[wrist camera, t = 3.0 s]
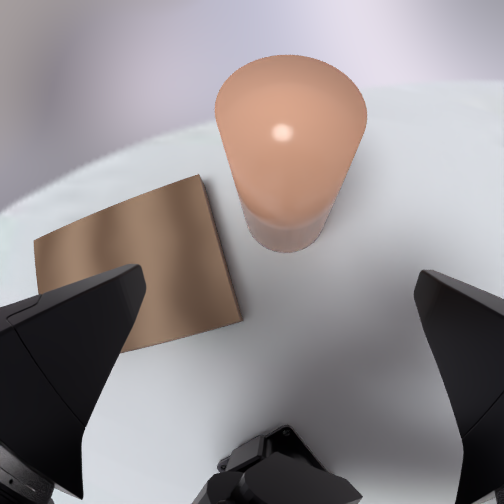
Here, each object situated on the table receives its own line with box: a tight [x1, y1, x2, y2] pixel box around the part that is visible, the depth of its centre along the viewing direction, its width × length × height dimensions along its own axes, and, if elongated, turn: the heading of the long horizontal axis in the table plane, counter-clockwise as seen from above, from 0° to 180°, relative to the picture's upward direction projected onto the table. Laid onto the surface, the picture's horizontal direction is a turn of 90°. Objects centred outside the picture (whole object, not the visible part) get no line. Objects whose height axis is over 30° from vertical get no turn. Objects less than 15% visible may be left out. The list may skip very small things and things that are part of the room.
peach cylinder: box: [215, 55, 367, 253], centre depth 18 cm, size 6×6×13 cm
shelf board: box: [34, 174, 243, 353], centre depth 23 cm, size 16×11×2 cm
